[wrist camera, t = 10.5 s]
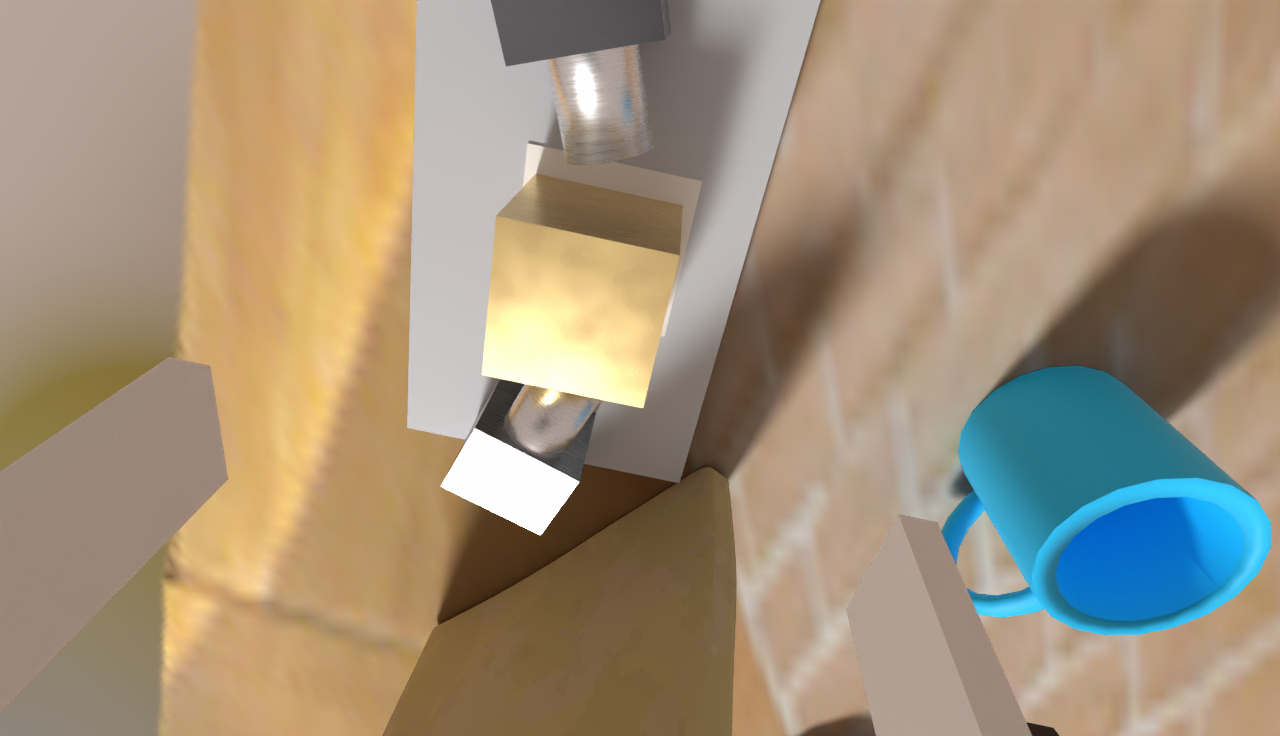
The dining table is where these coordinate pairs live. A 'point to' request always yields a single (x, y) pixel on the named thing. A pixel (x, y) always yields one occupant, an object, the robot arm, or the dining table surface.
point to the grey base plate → (672, 172)
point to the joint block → (580, 289)
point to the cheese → (597, 635)
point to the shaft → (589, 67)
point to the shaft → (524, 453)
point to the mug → (1103, 507)
